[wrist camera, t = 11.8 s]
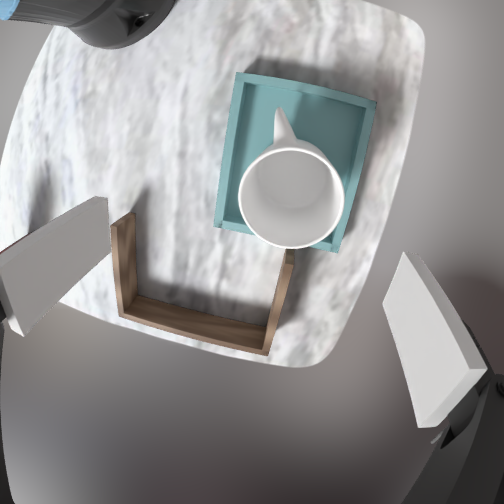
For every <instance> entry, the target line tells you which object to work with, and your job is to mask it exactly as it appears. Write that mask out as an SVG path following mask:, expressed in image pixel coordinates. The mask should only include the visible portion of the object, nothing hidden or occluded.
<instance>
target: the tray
mask: <svg viewBox="0 0 504 504" xmlns="http://www.w3.org/2000/svg"><path fill="white" fill-rule="evenodd" d="M376 104H377V102H375V101H372V100H369V99H366V98H362V97H359V96H355V95H352V94H348V93H345V92H341V91H337V90H333V89H329V88H325V87H321V86H316V85H312V84H307V83H303V82H298V81H292V80H287V79H281V78H275V77H269V76H263V75H255V74H248V73H239V72H236V77H235V83H234V88H233V94H232V100H231V106H230V112H229V118H228V125H227V131H226V138H225V144H224V151H223V158H222V165H221V172H220V179H219V187H218V194H217V202H216V210H215V218H214V226H213V227H218V228H223V229H228V230H232V231H237V232H242V233H247V234H252V235H255V234H254V233H253V232H252V231H251V229H250V228H249V227H248V225H247V224H246V222H245V221H244V219H243V216H242V214H241V211H240V207H239V201H238V192H239V186H240V182H241V179H242V177H243V175H244V173H245V171H246V170H247V168H248V167H249V166H250V164H251V163H252V162H253V161H254V160H255V159H256V158H257V157H258V156H259V155H260V154H261V153H262V152H263V151H264V150H265V149H266V148H267V147H269V146H270V145H272V144H273V141H274V121H275V112H276V109H277V108H278V107H281V108H282V109H283V111H284V113H285V115H286V117H287V119H288V121H289V123H290V125H291V127H292V130H293V132H294V134H295V136H296V138H297V139H299V140H304V141H307V142H309V143H311V144H313V145H314V146H316V147H317V148H318V149H320V150H321V151H322V153H323V154H324V155H325V156H326V157H327V159H328V160H329V161H330V163H331V164H332V165H333V167H334V168H335V169H336V171H337V173H338V174H339V176H340V178H341V181H342V184H343V187H344V193H345V203H344V209H343V213H342V216H341V218H340V221H339V222H338V224H337V226H336V227H335V228H334V230H333V231H332V232H331V233H330V234H329V235H328V236H327V237H325V238H324V239H323V240H321V241H319V242H318V243H316V244H313V245H311V246H308V247H312V248H317V249H321V250H326V251H330V252H335V253H338V251H339V248H340V245H341V241H342V238H343V235H344V232H345V228H346V225H347V222H348V218H349V215H350V211H351V208H352V204H353V201H354V197H355V194H356V190H357V186H358V182H359V179H360V175H361V171H362V167H363V163H364V159H365V155H366V150H367V146H368V142H369V137H370V133H371V128H372V124H373V119H374V114H375V109H376ZM256 236H257V235H256Z"/></svg>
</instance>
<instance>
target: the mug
mask: <svg viewBox="0 0 504 504" xmlns="http://www.w3.org/2000/svg"><path fill="white" fill-rule="evenodd" d="M238 201H239V207H240V211H241V214H242V216H243V219H244V221H245V222H246V224H247V225H248V227H249V228H250V229H251V231H252V232H253V233H254V234H255V235H257V236H258V237H259V238H260V239H262V240H264V241H265V242H267V243H269V244H271V245H274V246H277V247H281V248H288V249H298V248H304V247H308V246H311V245H313V244H316V243H318V242H319V241H321V240H323V239H324V238H325V237H327V236H328V235H329V234H330V233H331V232H332V231H333V230H334V228H335V227H336V226H337V224H338V222H339V221H340V218H341V216H342V213H343V209H344V203H345V193H344V187H343V184H342V181H341V178H340V176H339V174H338V173H337V171H336V169H335V168H334V167H333V165H332V164H331V163H330V161H329V160H328V159H327V157H326V156H325V155H324V154H323V153H322V151H321V150H320V149H318V148H317V147H316V146H314V145H313V144H311V143H309V142H307V141H304V140H299V139H297V138H296V136H295V134H294V132H293V130H292V127H291V125H290V123H289V121H288V119H287V117H286V115H285V113H284V111H283V109H282V108H281V107H278V108H277V109H276V112H275V121H274V141H273V144H272V145H270V146H269V147H267V148H266V149H265V150H264V151H263V152H262V153H261V154H260V155H259V156H258V157H257V158H256V159H255V160H254V161H253V162H252V163H251V164H250V166H249V167H248V168H247V170H246V171H245V173H244V175H243V177H242V179H241V182H240V186H239V192H238Z"/></svg>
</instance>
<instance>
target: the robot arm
mask: <svg viewBox="0 0 504 504" xmlns="http://www.w3.org/2000/svg"><path fill="white" fill-rule="evenodd" d="M174 2H175V0H0V18H1V19H2V20H17V21H28V22H37V23H44V24H51V25H58V26H64V27H68V28H69V29H70V30H71V31H72V32H74V33H75V34H76V35H77V36H78V37H80V38H81V39H82V40H83V41H84V42H85V43H87V44H89V45H91V46H94V47H98V48H103V49H119V48H123V47H126V46H129V45H131V44H134V43H136V42H137V41H139V40H141V39H142V38H144V37H145V36H147V35H148V34H149V33H151V32H152V31H153V30H154V29H155V28H156V27H157V26H158V25H159V24H160V23H161V22H162V21H163V20H164V18H165V17H166V16H167V14H168V13H169V11H170V10H171V8H172V6H173V4H174ZM110 252H111V241H110V229H109V214H108V198H104V197H97V196H95V197H93V198H91V199H89V200H87V201H85V202H83V203H82V204H80V205H78V206H76V207H74V208H73V209H71V210H69V211H67V212H66V213H64V214H62V215H60V216H59V217H57V218H55V219H54V220H52V221H50V222H49V223H47V224H45V225H44V226H42V227H41V228H39V229H37V230H36V231H34V232H33V233H31V234H30V235H28V236H26V237H25V238H23V239H22V240H20V241H19V242H17V243H16V244H14V245H13V246H11V247H10V248H9V249H7V250H6V251H4V252H3V253H1V254H0V377H1V358H2V347H3V337H4V326H3V323H2V320H4V319H5V318H6V317H7V320H8V322H9V324H10V327H11V329H12V330H13V331H15V332H17V333H18V334H20V335H22V336H23V337H24V336H25V335H26V334H27V333H28V332H29V331H30V330H31V329H32V328H33V327H34V326H35V324H36V323H37V322H38V321H39V320H40V319H41V318H42V317H43V316H44V315H45V314H46V313H47V312H48V311H49V310H50V309H51V308H52V307H53V306H54V305H55V304H56V303H57V302H58V301H59V300H60V299H61V298H62V297H63V296H64V295H65V294H66V293H67V292H68V291H69V290H70V289H71V288H72V287H73V286H74V285H75V284H76V283H77V282H78V281H80V280H81V279H82V278H83V277H84V276H85V275H86V274H87V273H88V272H89V271H90V270H91V269H92V268H94V267H95V266H96V265H97V264H98V263H99V262H100V261H101V260H102V259H103V258H105V257H106V256H107V255H108V254H109V253H110ZM382 305H383V308H384V311H385V313H386V316H387V319H388V322H389V325H390V328H391V331H392V334H393V337H394V340H395V343H396V347H397V349H398V353H399V356H400V359H401V363H402V366H403V370H404V373H405V377H406V380H407V384H408V387H409V391H410V395H411V399H412V403H413V407H414V411H415V416H416V420H417V425H418V428H423V427H434V426H437V425H438V424H439V423H440V422H441V421H442V420H443V419H444V418H445V417H446V416H447V415H448V419H449V422H450V424H449V425H448V426H447V427H446V428H445V429H444V430H442V431H441V432H440V433H439V434H438V435H437V436H436V437H435V438H434V439H433V440H432V441H431V443H432V444H433V443H434V442H435V441H437V440H438V439H439V441H438V443H437V445H436V447H435V449H434V451H433V452H432V454H431V456H430V458H429V460H428V462H427V463H426V465H425V467H424V468H423V470H422V472H421V474H420V475H419V477H418V479H417V480H416V482H415V484H414V485H413V487H412V488H411V490H410V491H409V493H408V494H407V496H406V497H405V499H404V500H403V502H402V503H401V504H504V375H502V374H496V375H495V374H494V372H493V370H492V368H491V366H490V364H489V362H488V360H487V358H486V356H485V354H484V352H483V350H482V348H480V345H479V343H478V342H477V340H476V339H475V336H474V334H473V332H472V331H471V329H470V327H469V326H468V325H467V324H466V323H465V322H464V321H463V320H462V319H461V318H460V317H459V315H458V314H457V312H456V311H455V309H454V307H453V306H452V304H451V302H450V301H449V299H448V298H447V296H446V295H445V293H444V291H443V290H442V288H441V287H440V285H439V284H438V282H437V281H436V280H435V278H434V277H433V275H432V273H431V272H430V271H429V269H428V268H427V266H426V265H425V263H424V262H423V261H422V259H421V258H420V257H419V255H418V254H413V253H409V252H405V251H404V252H403V254H402V256H401V259H400V262H399V264H398V267H397V269H396V272H395V275H394V277H393V280H392V282H391V284H390V287H389V289H388V291H387V294H386V296H385V298H384V301H383V303H382ZM1 431H2V430H1V413H0V504H15V503H14V501H13V499H12V496H11V492H10V487H9V482H8V477H7V471H6V465H5V459H4V452H3V443H2V432H1Z"/></svg>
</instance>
